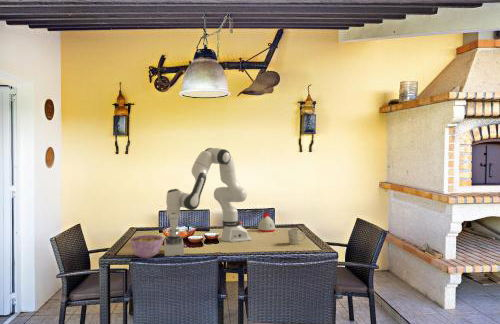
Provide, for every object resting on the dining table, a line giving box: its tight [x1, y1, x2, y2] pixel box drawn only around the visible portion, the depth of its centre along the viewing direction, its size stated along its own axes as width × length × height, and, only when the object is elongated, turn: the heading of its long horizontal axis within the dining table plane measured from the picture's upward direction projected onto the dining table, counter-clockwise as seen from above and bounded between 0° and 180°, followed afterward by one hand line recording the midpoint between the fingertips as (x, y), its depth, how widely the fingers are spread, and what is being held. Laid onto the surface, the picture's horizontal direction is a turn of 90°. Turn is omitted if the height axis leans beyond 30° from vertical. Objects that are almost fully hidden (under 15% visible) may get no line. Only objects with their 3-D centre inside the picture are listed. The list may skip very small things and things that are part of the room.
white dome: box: [257, 211, 276, 233], centre depth 345 cm, size 14×14×15 cm
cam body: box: [163, 235, 185, 257], centre depth 276 cm, size 12×18×10 cm
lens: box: [168, 226, 179, 239], centre depth 278 cm, size 6×6×9 cm
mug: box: [287, 227, 307, 245], centre depth 299 cm, size 8×13×10 cm, turn 91°
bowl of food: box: [130, 234, 164, 259], centre depth 266 cm, size 20×20×12 cm
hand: (173, 234), depth 278 cm, fingers open, 7 cm apart
